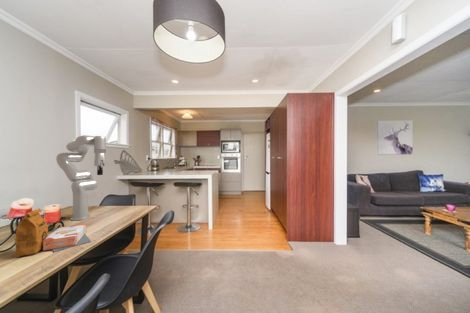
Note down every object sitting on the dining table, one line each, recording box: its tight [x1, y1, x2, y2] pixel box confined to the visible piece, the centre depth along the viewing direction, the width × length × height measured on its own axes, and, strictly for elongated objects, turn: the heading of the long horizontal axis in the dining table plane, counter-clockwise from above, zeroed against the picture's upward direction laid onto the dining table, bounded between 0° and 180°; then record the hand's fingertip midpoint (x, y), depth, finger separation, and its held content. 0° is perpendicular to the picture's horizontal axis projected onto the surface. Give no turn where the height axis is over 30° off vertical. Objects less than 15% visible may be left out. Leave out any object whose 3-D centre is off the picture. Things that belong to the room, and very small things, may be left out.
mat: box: [51, 233, 92, 253], centre depth 108 cm, size 18×16×1 cm
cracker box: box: [42, 223, 87, 251], centre depth 109 cm, size 14×6×21 cm
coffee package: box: [14, 208, 49, 258], centre depth 98 cm, size 10×12×22 cm
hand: (99, 174), depth 142 cm, fingers closed
